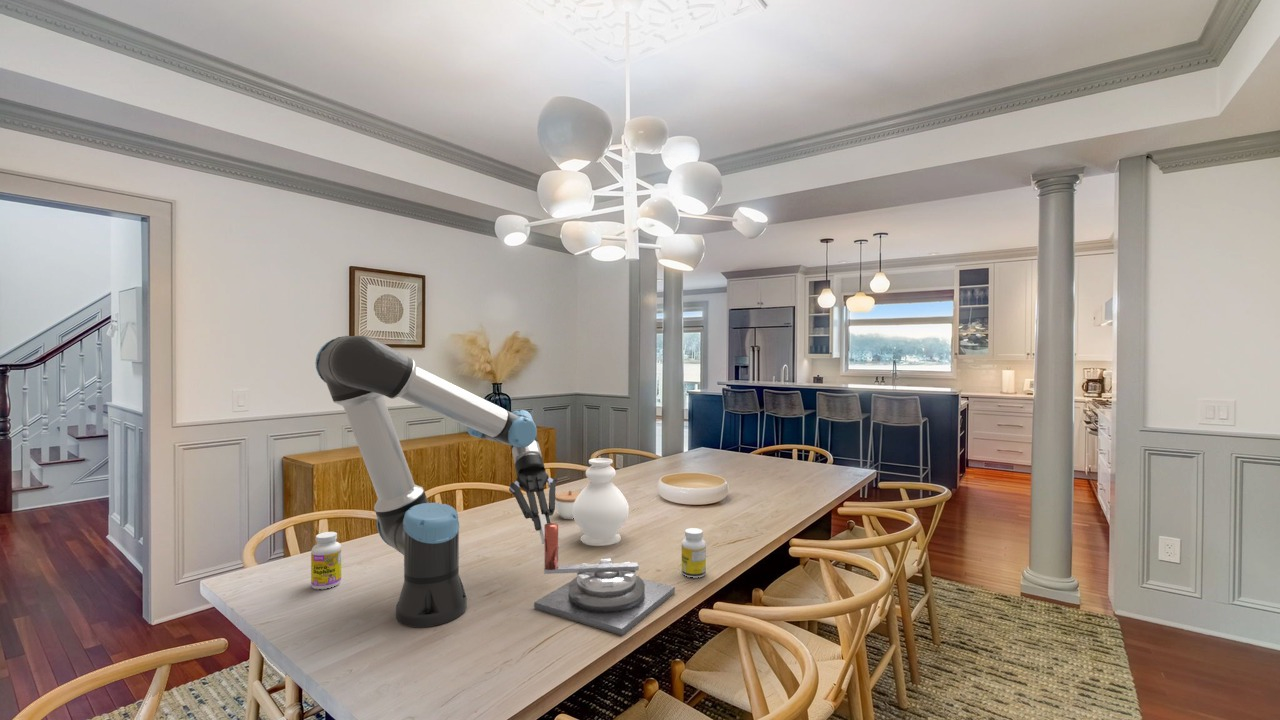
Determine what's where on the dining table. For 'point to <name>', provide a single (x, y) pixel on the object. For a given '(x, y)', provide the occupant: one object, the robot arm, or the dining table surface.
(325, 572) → the supplement bottle
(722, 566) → the dining table surface
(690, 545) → the pill bottle
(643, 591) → the grey crank base
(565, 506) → the lidded jar
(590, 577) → the red grip crank lever
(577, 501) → the decorative vase
